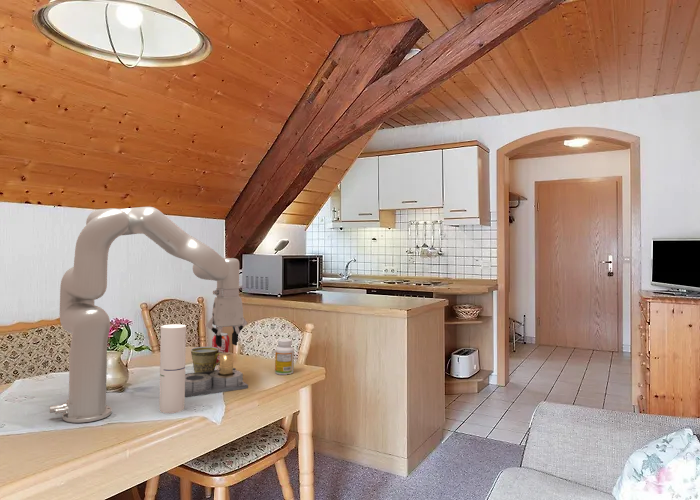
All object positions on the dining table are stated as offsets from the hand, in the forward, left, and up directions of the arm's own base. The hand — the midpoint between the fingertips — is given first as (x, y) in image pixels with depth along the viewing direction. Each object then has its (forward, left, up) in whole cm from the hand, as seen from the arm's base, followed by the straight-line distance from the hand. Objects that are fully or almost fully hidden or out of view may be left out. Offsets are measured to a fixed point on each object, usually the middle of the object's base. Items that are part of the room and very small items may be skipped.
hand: (226, 344), depth 178 cm
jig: (-5, 0, -14) cm, 15 cm away
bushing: (0, 0, -13) cm, 13 cm away
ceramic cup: (-1, +15, -15) cm, 21 cm away
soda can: (+10, +33, -15) cm, 37 cm away
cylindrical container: (-22, -16, -15) cm, 31 cm away
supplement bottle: (+26, +6, -15) cm, 30 cm away
